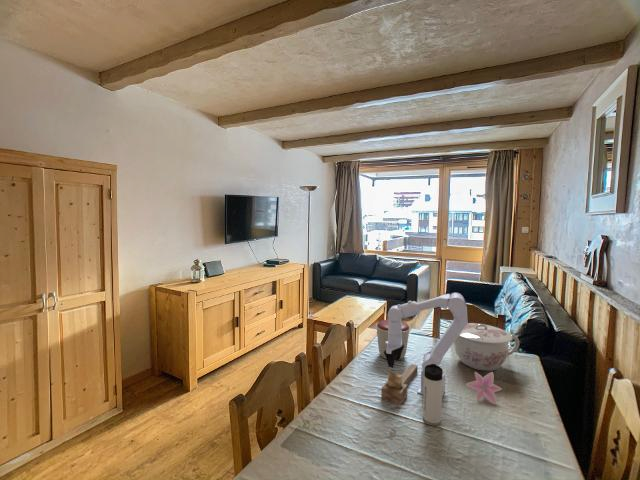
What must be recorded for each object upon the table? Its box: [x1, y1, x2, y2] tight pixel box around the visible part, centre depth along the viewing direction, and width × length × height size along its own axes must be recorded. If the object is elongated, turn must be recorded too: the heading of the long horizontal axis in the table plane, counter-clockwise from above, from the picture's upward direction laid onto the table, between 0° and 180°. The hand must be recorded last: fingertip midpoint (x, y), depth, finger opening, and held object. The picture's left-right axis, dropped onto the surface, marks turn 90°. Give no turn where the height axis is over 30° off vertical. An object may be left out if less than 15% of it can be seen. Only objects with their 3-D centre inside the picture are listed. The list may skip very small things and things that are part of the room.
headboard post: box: [381, 363, 418, 405], centre depth 143 cm, size 8×30×4 cm, turn 146°
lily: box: [466, 371, 502, 405], centre depth 135 cm, size 12×12×10 cm
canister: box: [375, 319, 412, 360], centre depth 172 cm, size 18×18×21 cm
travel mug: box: [422, 364, 444, 427], centre depth 118 cm, size 6×7×20 cm
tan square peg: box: [387, 371, 402, 390], centre depth 134 cm, size 5×2×8 cm, turn 56°
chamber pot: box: [453, 322, 520, 372], centre depth 163 cm, size 28×27×21 cm
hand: (394, 363), depth 143 cm, fingers open, 7 cm apart
